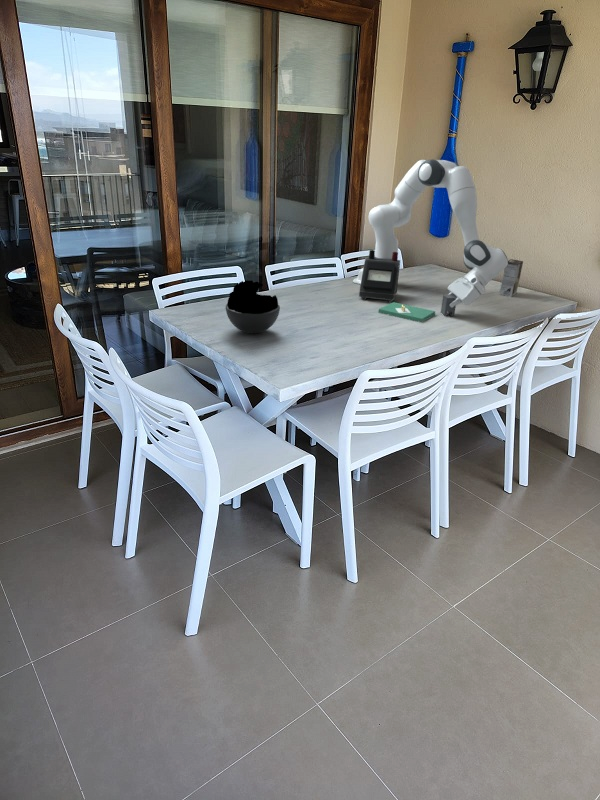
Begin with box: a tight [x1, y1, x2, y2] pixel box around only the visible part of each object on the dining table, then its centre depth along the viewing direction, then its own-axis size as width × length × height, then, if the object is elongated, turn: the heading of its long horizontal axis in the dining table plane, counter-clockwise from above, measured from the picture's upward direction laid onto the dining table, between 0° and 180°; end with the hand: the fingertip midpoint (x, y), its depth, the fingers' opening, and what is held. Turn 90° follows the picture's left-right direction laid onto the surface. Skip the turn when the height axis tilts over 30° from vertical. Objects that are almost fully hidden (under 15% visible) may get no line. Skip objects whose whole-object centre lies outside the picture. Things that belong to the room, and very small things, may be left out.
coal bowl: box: [225, 279, 281, 334], centre depth 200 cm, size 20×20×19 cm
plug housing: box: [440, 294, 457, 317], centre depth 232 cm, size 5×4×8 cm
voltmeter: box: [358, 249, 401, 303], centre depth 251 cm, size 16×16×20 cm
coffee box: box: [499, 258, 524, 298], centre depth 265 cm, size 9×6×16 cm
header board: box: [378, 301, 436, 323], centre depth 232 cm, size 20×14×2 cm
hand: (447, 304), depth 232 cm, fingers open, 5 cm apart
